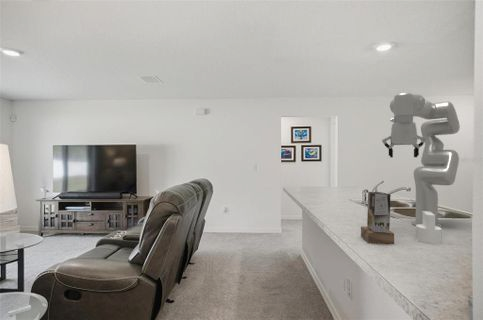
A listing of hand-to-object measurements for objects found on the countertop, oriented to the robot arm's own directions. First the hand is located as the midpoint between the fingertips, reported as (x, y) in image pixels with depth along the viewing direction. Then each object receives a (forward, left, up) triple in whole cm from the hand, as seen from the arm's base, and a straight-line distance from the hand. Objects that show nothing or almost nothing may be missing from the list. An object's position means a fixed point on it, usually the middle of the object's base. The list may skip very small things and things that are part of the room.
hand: (403, 157), depth 119 cm
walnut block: (+13, -12, -37) cm, 41 cm away
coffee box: (+13, -12, -32) cm, 36 cm away
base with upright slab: (+5, +9, -37) cm, 38 cm away
